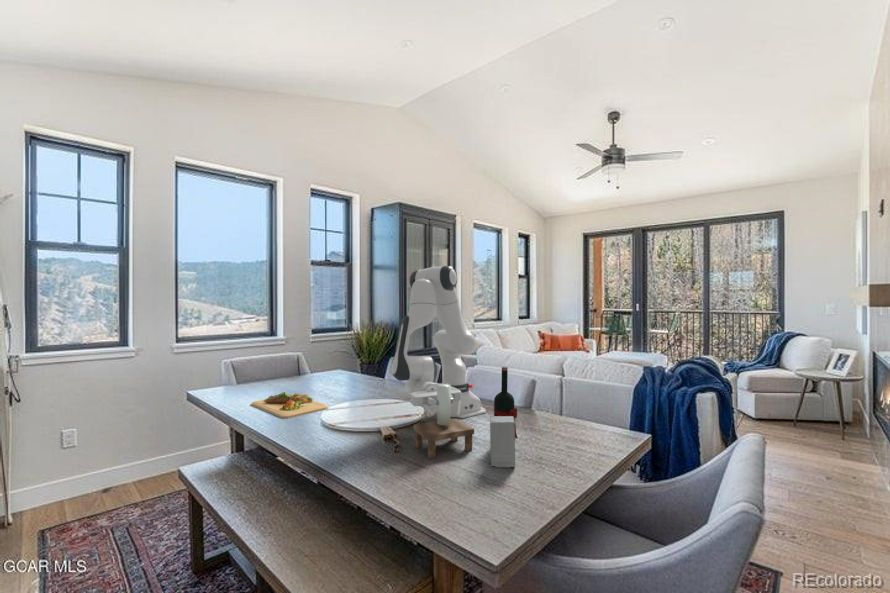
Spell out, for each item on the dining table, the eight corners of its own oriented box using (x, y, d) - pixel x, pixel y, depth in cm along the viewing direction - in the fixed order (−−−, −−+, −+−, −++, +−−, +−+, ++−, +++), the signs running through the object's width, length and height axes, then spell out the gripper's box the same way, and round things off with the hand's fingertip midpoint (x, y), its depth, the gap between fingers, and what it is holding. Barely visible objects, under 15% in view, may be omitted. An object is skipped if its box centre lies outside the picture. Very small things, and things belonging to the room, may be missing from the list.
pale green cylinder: (446, 420, 168) (446, 383, 167) (452, 424, 163) (453, 386, 163) (434, 422, 165) (434, 384, 165) (440, 425, 161) (440, 387, 160)
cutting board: (330, 409, 215) (330, 394, 215) (285, 420, 198) (285, 403, 198) (293, 397, 239) (293, 383, 239) (249, 405, 221) (249, 390, 221)
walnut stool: (455, 438, 175) (455, 418, 175) (474, 450, 162) (474, 428, 162) (413, 445, 167) (413, 424, 166) (429, 459, 154) (429, 436, 154)
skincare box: (514, 461, 153) (514, 415, 153) (515, 469, 146) (516, 421, 146) (489, 459, 154) (490, 414, 154) (489, 468, 147) (490, 420, 146)
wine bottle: (509, 454, 159) (510, 371, 158) (488, 446, 167) (489, 366, 166) (523, 449, 164) (524, 368, 163) (503, 441, 172) (503, 364, 171)
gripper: (404, 388, 171) (418, 396, 158) (451, 383, 180) (468, 390, 168) (404, 404, 171) (418, 414, 159) (451, 398, 180) (468, 407, 168)
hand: (444, 401), depth 163 cm, fingers closed on pale green cylinder, 5 cm apart
